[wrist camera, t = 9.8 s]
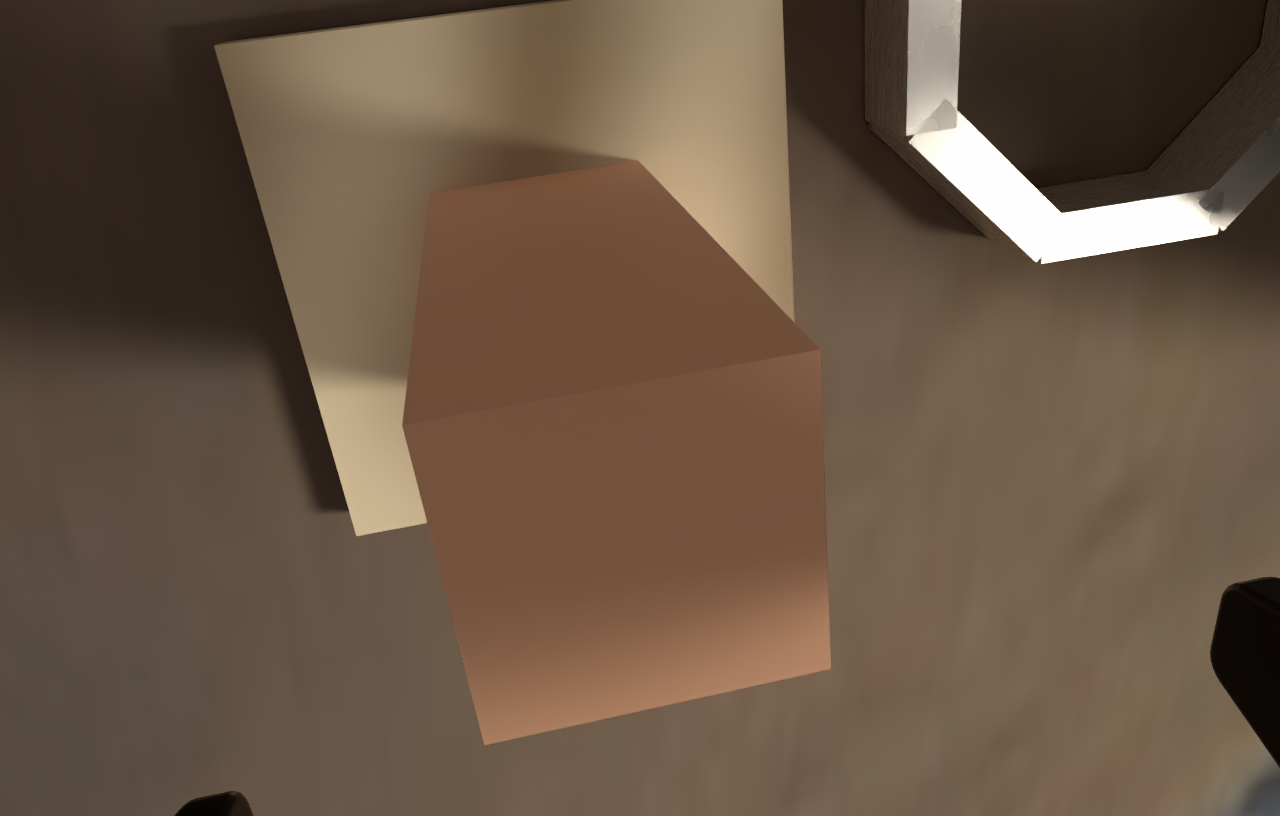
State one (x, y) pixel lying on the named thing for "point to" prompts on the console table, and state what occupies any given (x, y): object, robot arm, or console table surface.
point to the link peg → (612, 453)
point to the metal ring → (1080, 211)
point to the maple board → (489, 167)
